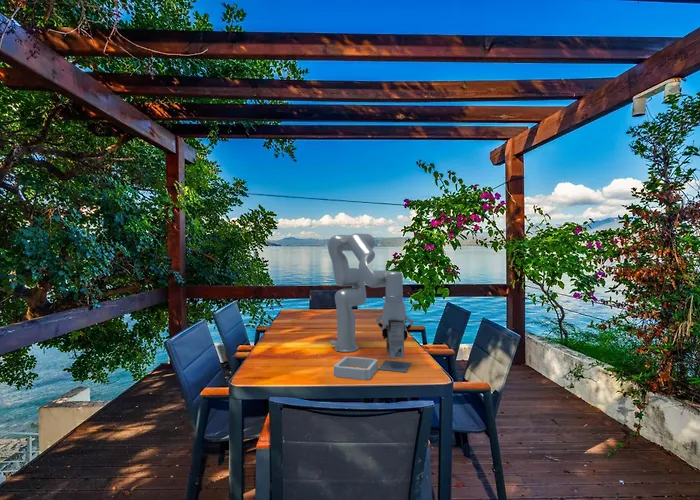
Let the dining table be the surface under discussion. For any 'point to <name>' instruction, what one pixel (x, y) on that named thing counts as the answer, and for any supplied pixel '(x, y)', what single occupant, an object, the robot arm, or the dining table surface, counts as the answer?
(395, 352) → the coffee box
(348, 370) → the holder
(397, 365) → the mat
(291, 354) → the dining table surface
